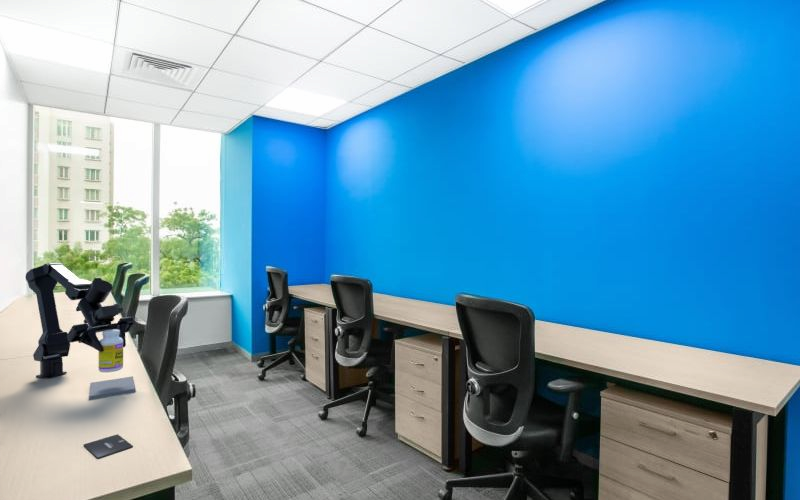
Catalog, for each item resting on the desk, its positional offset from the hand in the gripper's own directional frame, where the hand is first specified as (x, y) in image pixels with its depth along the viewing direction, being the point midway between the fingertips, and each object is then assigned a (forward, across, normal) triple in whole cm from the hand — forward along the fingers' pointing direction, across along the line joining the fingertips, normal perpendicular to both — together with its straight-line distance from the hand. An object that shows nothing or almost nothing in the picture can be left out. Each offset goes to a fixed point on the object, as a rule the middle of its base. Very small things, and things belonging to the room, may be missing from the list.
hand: (113, 348), depth 136 cm
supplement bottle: (+4, 0, +6) cm, 7 cm away
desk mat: (+9, 0, +10) cm, 13 cm away
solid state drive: (+38, -25, -19) cm, 49 cm away
